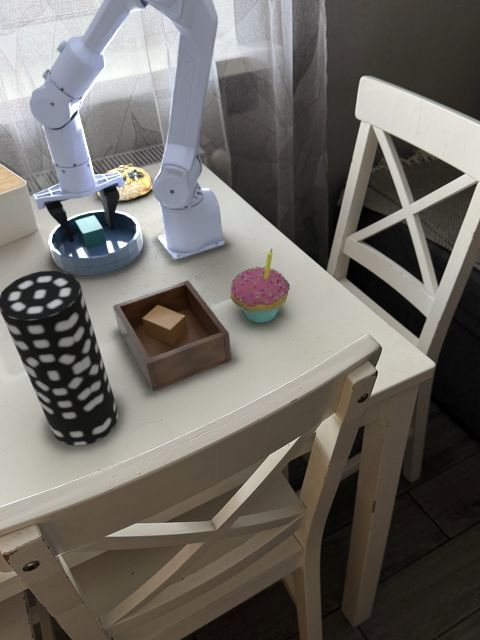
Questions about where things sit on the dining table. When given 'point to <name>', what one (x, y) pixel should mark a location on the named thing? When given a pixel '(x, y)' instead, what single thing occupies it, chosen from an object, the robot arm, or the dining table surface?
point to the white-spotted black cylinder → (60, 354)
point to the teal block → (90, 231)
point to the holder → (189, 351)
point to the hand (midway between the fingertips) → (91, 233)
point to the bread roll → (132, 182)
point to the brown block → (165, 324)
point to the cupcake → (260, 292)
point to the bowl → (102, 258)
